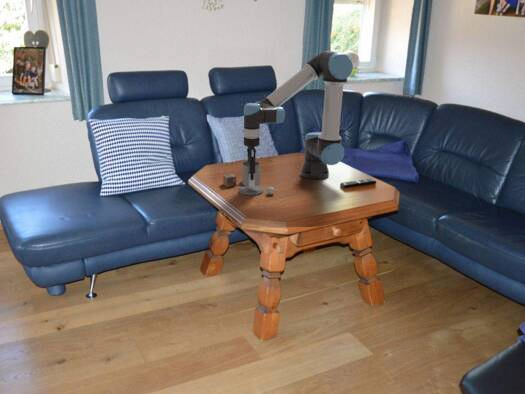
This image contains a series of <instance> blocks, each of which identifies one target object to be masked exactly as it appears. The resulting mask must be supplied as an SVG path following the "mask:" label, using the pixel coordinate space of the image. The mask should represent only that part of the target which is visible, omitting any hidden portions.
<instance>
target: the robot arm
mask: <svg viewBox="0 0 525 394" xmlns="http://www.w3.org/2000/svg"><path fill="white" fill-rule="evenodd" d="M353 68H354V66H353V61H352V58H351V57H350V56H349V55H348V54H346V53H343V52H339V51H333V50H324V51H322V52H320V53H318V54H317V55H315V56H313V57H312V58H311V59H310V60H308V61H307V62H306V63H305V64H304V67H303V68H301V69H300V70H299V71H298V72H297V73H295V74H294V75H293V76H291V77H290V78H289V79H288V80H287V81H285V82H284V83H283V84H281V85H280V86H279V87H278V88H276V89H275V90H274V91H273V92H272V93H270V94H268V96H266V97H265V98H264V99H262V100H259V101H256V102H254V103H253V102H249V103H246V104H244V106H243V129H242V131H241V132H242V133H243V145H244V146H245V147H247V148H246V153H247V154H246V155H247V156H246V157H247V161H248V162H249V172H248V173H249V186H255V162H256V158H257V157H256V153H257V150H256V148H255V147H259V146H260V143H261V142H260V136H261V125H266V124H281V123H284V122H285V119H286V111H285V109H284V107H282V105H283V104H284V103H286V102H287V101H288V100H290V99H291V98H292V97H294V95H297V94H298V93H299V92H300V91H301V90H302V89H304V88H305V87H306V86H308V84H311V82H313V81H314V80H315V81H316V80H319V79H320V78H321V77H322V82H323V83H324V84H325V86H324V100H323V110H322V112H323V114H322V123H321V132H319V131H317V132H309V133H306V134H305V138H304V160H303V163H302V166H301V168H300V176H301V177H303V178H305V179H311V180H323V179H327V178H329V176H330V171H329V167H328V166H335V165H337V164H339V163H340V162H341V161H342V160H343V158H344V156H345V148H344V146H343V145H342V136H341V135H340V127H341V126H340V125H341V116H342V103H343V92H344V85H345V84H347V83H348V78H349V77H350V75H351V74H352V73H353ZM251 170H254V171H251Z"/></svg>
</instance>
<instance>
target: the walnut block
mask: <svg viewBox="0 0 525 394" xmlns="http://www.w3.org/2000/svg"><path fill="white" fill-rule="evenodd" d="M222 182H223V183H222V185H224V186H225V187H226V188H230V187H237V176H236V175H235V174H233V173H227V174H226V173H225V174H222Z"/></svg>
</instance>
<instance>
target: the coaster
mask: <svg viewBox="0 0 525 394" xmlns="http://www.w3.org/2000/svg"><path fill="white" fill-rule="evenodd" d="M238 193H240V194H241V195H244V196H258V195H262V194H263V193H264V188H263V187H261V186H259V185H257V186H245V185H243V186H241V187H239V188H238Z"/></svg>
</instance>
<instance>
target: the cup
mask: <svg viewBox="0 0 525 394" xmlns="http://www.w3.org/2000/svg"><path fill="white" fill-rule="evenodd" d="M251 171H254V170H251ZM248 172H249V162H248V160H247V161H243V162H242V173H241V183H242V185H243V186H249V173H248ZM260 184H261V162H258V161H255V186H259V185H260Z"/></svg>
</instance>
